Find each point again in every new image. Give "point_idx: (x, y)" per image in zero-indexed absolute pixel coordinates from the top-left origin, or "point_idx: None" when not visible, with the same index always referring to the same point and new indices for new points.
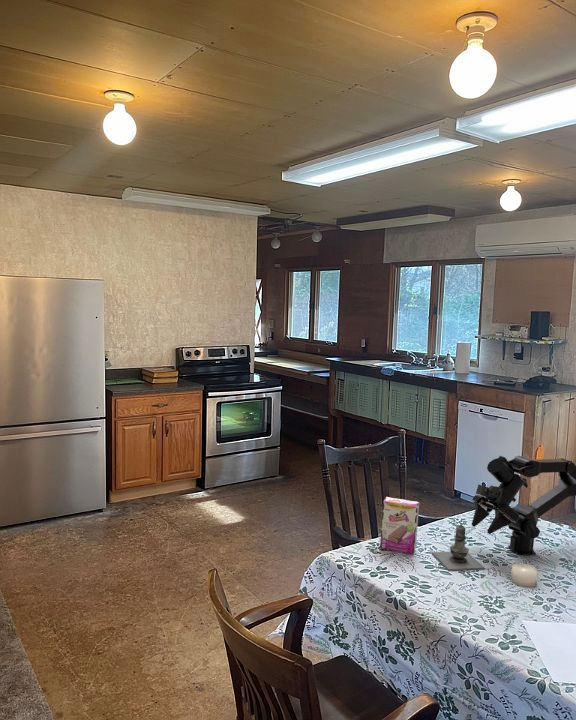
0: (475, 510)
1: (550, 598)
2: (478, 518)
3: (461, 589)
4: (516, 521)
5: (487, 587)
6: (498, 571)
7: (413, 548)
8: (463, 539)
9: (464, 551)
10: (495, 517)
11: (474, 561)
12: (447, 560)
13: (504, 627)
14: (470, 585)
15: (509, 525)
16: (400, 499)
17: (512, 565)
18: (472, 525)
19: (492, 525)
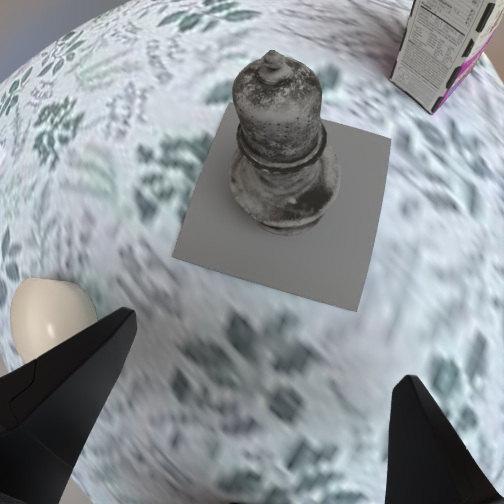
0: (489, 487)
1: (4, 298)
2: (413, 466)
3: (125, 88)
4: None
5: (90, 165)
6: (141, 303)
7: (395, 62)
8: (237, 130)
9: (236, 168)
10: (1, 413)
11: (240, 258)
12: None
13: (19, 108)
14: (123, 121)
15: None
16: None
17: (57, 303)
18: (404, 378)
19: (58, 346)
